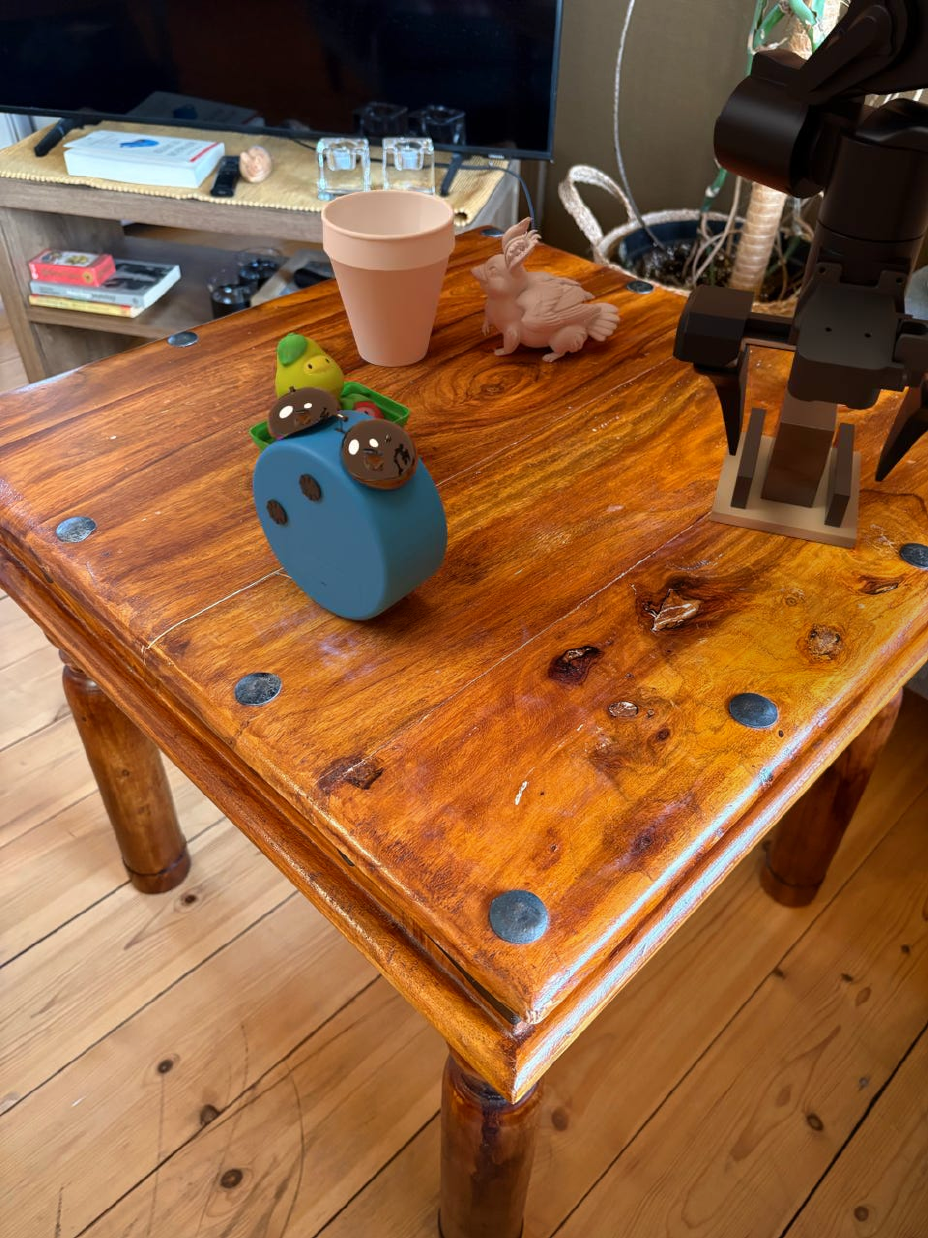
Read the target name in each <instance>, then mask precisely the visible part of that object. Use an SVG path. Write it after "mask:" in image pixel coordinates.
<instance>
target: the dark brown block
mask: <svg viewBox="0 0 928 1238" xmlns="http://www.w3.org/2000/svg"><path fill="white" fill-rule="evenodd" d="M787 384H788V380H787V381H786V384H785V387H784V392H783V394H782V395H783V396H782V399H781V404H780V408H779V411H778V415H777V419H776V422H775V427H774V431H773V435H772V437H773V438H772V442H771V446H770V450H769V453H768V459H767V464H766V470H765V475H764V481H763V486H762V492H761V499H766V500H771V501H777V502H782V503H787V504H793V505H798V506H803V507H808V508H812V505H813V502H814V499H815V496H816V492H817V489H818V486H819V483H820V479H821V478H822V475H823V473H824V470H825V467H826V464H827V460H828V457H829V453H830V450H831V447H833V443H834V439H835V438H834V437H835V433H836V427H837V423H838V416H839V409H838V404H834V403H828V402H822V401H812V402H806V401H801V400H798V399H796V398H794V397H792V396H791V395H790V394H789V392H788V389H787Z"/></svg>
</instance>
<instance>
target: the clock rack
mask: <svg viewBox="0 0 928 1238" xmlns="http://www.w3.org/2000/svg"><path fill="white" fill-rule="evenodd" d="M767 412H768V411H767V409H766V408H760V407H753V406H752V407H751V411H750V415H749V419H748V424H747V427H746V431H742V432H741V436H740V440H739V445H738V449H737V453H736V456H731V455H730V454H729V449H728V444H727V446H726V450H725V453H724V454H725V455H724V459H723V462H722V466H721V470H720V475H719V478H718V481H717V482H718V483H717V488H716V490H715V496H714V498H713V503H712V506H711V507H712V508H711V510H710V515H709V521H710V522H713V523H714V522H715V523H720V524H725V525H730V526H735V527H740V528H745V529H750V530H755V531H759V532H765V533H771V534H775V535H776V534H777V535H780V536H785V537H790V538H794V539H795V538H796V539H799V540H800V539H801V540H806V541H810V542H816V543H822V544H825V545H832V546H837V547H840V548H841V547H842V548H847V549H852V550H853V549H855V546H856V543H857V540H858V524H859V523H858V522H859V507H860V506H859V505H860V486H861V469H862V467H861V465H862V452H861V451H855V450H854V447H855V446H854V445H855V432H856V424H854V423H848V422H842V421H841V422H839V425H838V428H837V432H836V435H835V438H834V440H833V443H832V446H831V450H830V453H829V457H828V460H827V464H826V467H825V470H824V473H823V475H822V478H821V479H820V483H819V486H818V489H817V492H816V496H815V499H814V502H813V505H812V508H808V507H803V506H798V505H793V504H787V503H782V502H777V501H771V500H766V499H761V492H762V486H763V481H764V475H765V470H766V464H767V459H768V453H769V450H770V446H771V442H772V438H773V436H769V435H766V434H765V435H763V431H764V425H765V421H766V415H767Z"/></svg>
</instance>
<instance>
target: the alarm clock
mask: <svg viewBox="0 0 928 1238" xmlns="http://www.w3.org/2000/svg"><path fill="white" fill-rule="evenodd" d="M289 390H290V392H289V393H287V394H285V395H283V396H281V397H280V398H279V399H278V398H277V400H275V401H274V403H273V404H272V406H271V407H270V410H269V411H268V414H267V417H266V419H267V427H268V431H269V433H270V436H271V437H279V436H283V435H287V434H290V433H291V434H290V435H288V436H286V437H284V438H282V439H280V440H278V441H276V442H274V443H272V444H270V445H269V446H268V447H267V448H265V449H264V451H263V452H262V453H261V452H260V455H259V456H258V458H257V460H256V463H255V466H254V468H253V473H252V494H253V500H254V506H255V511H256V515H257V518H258V521H259V523H260V526H261V529H262V532H263V534H264V537H265V539H266V540H267V543H268V544H269V547H270V549H271V551H272V552H273V554H274V555H275V557H276V560H278V562H279V563H280V565H281V566H282V568H283V569H284V571H285V572H286V573H287V575H288V576H289V577H290V579H291V580H292V581H293V582H294V583H295V584H296V585H297V586H298V587H299V589H300V590H302V591H303V592H304V593H305V595H307V596H308V597H309V598H310V599H311V600H312V601H314V602H315V603H316V604H318V605H319V606H320V607H322V608H323V609H325V610H327V611H328V612H330V613H332V614H334V615H336V616H337V617H341V618H344V619H347V620H352V621H366V620H370V619H373V618H375V617H377V616H379V615H381V614H382V613H384V612H386V610H388V609H389V608H391V607H392V606H393V605H395V604H396V603H398V602H399V601H401V600H402V599H406V600H407V601H409V600H411V599H412V597H411V593H412V592H413V591H415V590H416V589H417V588H419V587H420V586H422V585H423V584H425V583H426V582H428V581H429V580H430V579H431V578H432V577H433V576H435V575H436V573H437V572H438V571H439V569H440V568H441V566H442V565H443V563H444V560H445V556H446V554H447V553H446V552H447V547H448V535H449V534H448V523H447V516H446V512H445V508H444V504H443V501H442V498H441V496H440V491H439V490H438V488H437V485H436V483H435V481H434V480H433V477H432V475H431V474H430V472H429V470H428V468H427V467H426V465H425V463H424V462H423V460H422V459H421V458H420V456H419V454H418V448H417V446H416V443H415V442H414V440H413V438H412V436H411V435H410V434H409V433H408V431H407V430H405V428H404V429H403V428H402V427H400V426H399V425H397V424H395V423H394V422H391V421H388V420H385V419H379V418H375V417H373V416H370V415H368V414H365V413H361V412H358V411H352V410H342V411H340V410H341V407H340V404H339V402H338V400H337V399H336V397H335V396H334V395H333V394H331V393H330V392H328V391H327V390H324V389H322V388H318V387H302V388H299V389H296V390H295V389H294V386H291V387H289Z"/></svg>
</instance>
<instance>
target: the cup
mask: <svg viewBox="0 0 928 1238" xmlns="http://www.w3.org/2000/svg"><path fill="white" fill-rule="evenodd" d="M320 216H321V217H320V218H321V221H322V247H323V252H324V253H325V254H326V255H327V256H328V258H329V260H330V263H331V267H332V270H333V273H334V276H335V279H336V283H337V287H338V289H339V293H340V296H341V299H342V302H343V306H344V309H345V312H346V315H347V319H348V322H349V326H350V328H351V331H352V335H353V339H354V341H355V345H356V348H357V351H358V354H359V356H360V357H361V359H362V360H364V361H366V362H367V363H369V364H372V365H376V366H379V367H389V368H395V367H396V368H397V367H405V366H410V365H413V364H415V363H418V362H419V361H421V360H423V359H424V358H425V356H426V355H427V353H428V348H429V344H430V339H431V336H432V331H433V327H434V324H435V318H436V315H437V309H438V307H439V301H440V298H441V293H442V288H443V284H444V281H445V277H446V272H447V267H448V263H449V259H450V255H451V254H453V252H454V250H455V248H456V233H455V232H456V230H455V217H456V213H455V210H454V207H453V206H452V205H451V204H450V203H448V202H447V201H446V200H445V199H442V198H440V197H438V196H436V195H433V194H430V193H426V192H421V191H415V190H408V189H392V188H391V189H390V188H389V189H387V188H385V189H370V190H362V191H357V192H356V191H355V192H352V193H348V194H345V195H342V196H339V197H337V198H334V199H332V200H331V201H330V202H327V203H326V204H325V205H324V207H323V208H322V210H321V212H320Z"/></svg>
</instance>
